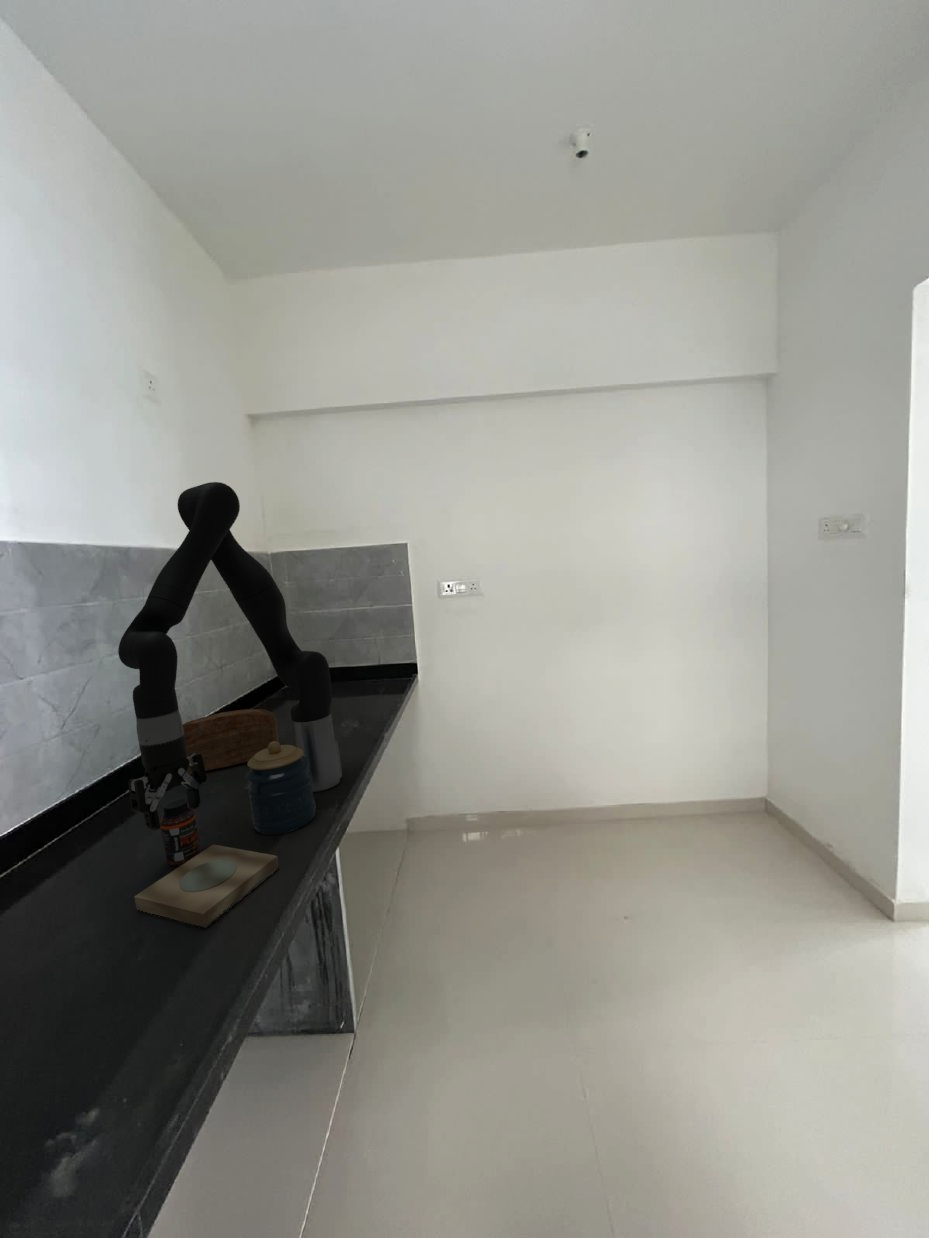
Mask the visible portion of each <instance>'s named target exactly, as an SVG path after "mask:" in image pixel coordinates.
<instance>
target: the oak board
mask: <svg viewBox="0 0 929 1238" xmlns="http://www.w3.org/2000/svg"><path fill="white" fill-rule="evenodd" d="M278 858H279V857H278V855H274V854H268V853H263V852H262V853H261V852H256V851H252V850H245V849H240V848H235V847H231V846H230V847H229V846H224V845H218V844H212V845H209V847H207V848H206V849H204V850H203V851H201V852H200V854H198V855H197V856H195V857H193V858H192V859H190V860H189V861H187V862H186V863H184V864H183V865H179V866H177V868H175V869H174V870H173V871H171V872H170V873H168V874H166V875H165V876H163V877H161V878H160V879H159V880H157V881H156V882H154V883H153V884H150V885H149V886H148V887H146V888H145V889H144V890H142V891H140V892H139V893H138V894H136V895H135V896H134V902H135V907H136V911H138V910H140V911H139V912H141V911H143V912H142V913H145V912H147V913H146V914H149V913H150V915H152V914H156V915H160V916H163V917H169V918H172V919H175V920H179V921H184V922H187V923H191V924H196V925H200V926H204V927H206V925H208V924H209V923H210V922H211V921H212V920H214V919H215V918H216V917H218V916H219V914H222V913H223V911H224V910H226V909H227V908H228V907H230V905H231V904H232V903H234V902H235V901H236V900H238V899H239V898H240V897H242V896H243V895H244V894H245V893H247V892H248V891H249V890H250V889H251V888H252V887H253V886H255V884H256V883H258V882H259V881H260V880H262V879H263V878H264V877H265V876H267V875H268V874H269V873H271V872H272V871H273V870H274V869H276V868H277V867H278V866H279V867H280V865H279V863H280V862H279V859H278ZM156 915H155V916H156ZM160 916H159V917H160ZM163 917H162V918H163Z"/></svg>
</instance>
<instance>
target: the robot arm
mask: <svg viewBox="0 0 929 1238" xmlns="http://www.w3.org/2000/svg"><path fill="white" fill-rule="evenodd" d="M240 506H241V505H240V499H239V497H238V495H237V492H236V491H235V490H234V489H233V488H232V487H231V486H229V485H227V484H226V483H224V482H219V481H218V482H217V481H213V482H206V483H202V484H199V485H196V486H193V487H190V488H187V489H185V490H183V491H182V492H181V493H180V494H179V497H178V499H177V510H178V514H179V517H180V519H181V520H182V523H183V524H184V525H185V526H186V528H187V529H188V532H187V534H186V536H185V538H184V539H183V541H182V543H181V544H180V545H179V546H178V548H177V549H176V551H175V552H174V553H173V554H172V556H171V557H170V558H169V559H168V561H167V562H166V564H165V565H164V566H163V567H162V569H161V570H160V572H159V573H158V575H157V577H156V578H155V580H154V583H153V585H152V587H151V589H150V591H149V593H148V596H147V598H146V601H145V603H144V605H143V607H142V608H141V610H139V612H138V613H137V615H136V616H135V617H134V619H133V620H132V621H131V623H130V624H129V626H128V627H127V628H126V629H125V631H124V633H123V635H122V636H121V639H120V642H119V644H118V649H117V651H118V652H117V653H118V658H119V660H120V662H121V663H122V664H123V665H124V666H125V667H127V668H130V669H133V670H139V671H138V672H139V684H138V685H136V686H135V687H134V688H133V691H132V702H133V709H134V715H135V719H136V720H135V721H136V722H135V723H136V734H137V740H138V746H139V752H140V757H141V763H142V766H143V768H144V776H142V777H139V778H136V779H135V778H130V779H129V780H128V782H127V784H128V791H129V802H130V810H131V812H135V813H141V814H143V816H144V822H145V826H146V828H148V829H149V830H152V831H157V830H159V829H161V825H160V818H159V811H158V809H157V807H158V804H159V802H160V801H161V799H163V798H164V794H165V792H169V791H170V790H172V789H173V788H175V787H179V786H181V785H182V786H184V787H185V788H186V798H187V799H186V800H187V805H188V808H190V809H192V810H193V809H194V810H196V809H198V808H199V807H200V804H201V796H200V795H201V794H200V791H199V790H200V789H199V788H200V786H201V785H202V784H203V783H205V782H207V781H208V777H207V772H206V771H205V767H204V763H203V758H202V755H201V754H196V753H190V754H189V756H188V757H186V756H187V747H186V741H185V735H184V729H183V724H184V723H183V719H182V716H181V714H180V709H179V703H178V702H179V701H178V697H177V692H176V682H177V673H178V672H177V671H178V651H177V647H176V644H175V643H174V641H173V639H172V637H170V635H168V633H169V631H170V630H171V628H173V627H175V626H177V625H178V624H180V623H182V621H183V619H184V618H185V616H186V613H187V611H188V610H189V607H190V604H191V603H192V599H193V597H194V595H195V592H196V590H197V588H198V585H199V583H200V581H201V580H202V577H203V575H204V573H205V571H206V569H207V567H208V566H209V564H210V561H211V562H212V564H213V565H214V567H215V569H216V570H217V572H218V573H219V575H220V577H221V578H222V580H223V582H224V583H225V585H226V586H227V588H228V589H229V591H230V593H231V595H232V597H233V599H234V600H235V602H236V604H237V605H238V607H239V609H240V610H241V612H242V614H243V615H244V617H245V618H246V619H247V621H248V622H249V624H250V626H251V628H252V629H253V631H254V633H255V635H256V636H257V637H258V639H259V641H260V642H261V644H262V646H263V647H264V649H265V652H266V654H267V656H268V658H269V660H270V663H271V664H272V665H271V666H272V667H273V669H274V671H275V673H276V675H277V677H278V679H279V680H280V682H281V683H282V684H283V686H286V687H287V688H290V689H294V690H298V703H297V704H295V705H293V706H292V707H291V709H290V719H291V724H292V731H293V735H294V736H293V737H294V742H295V747H297V748H300V749H302V750H303V752H304V753H303V757H306V758H307V759H308V760H309V765H308V767H307V769H308V772H309V773H310V774H311V783H312V790H313V793H314V792H315V793H316V792H322V791H325V790H328V789H331V788H333V787H335V786H336V785H338V784H339V783H340V782H341V778H343V772H342V770H343V769H342V764H341V758H340V756H341V755H340V749H339V742H338V740H337V739H335V731H334V726H333V719H332V718H333V717H332V709H331V705H332V701H333V700H332V699H333V693H332V680H331V673H330V672H331V671H330V667H329V666H330V665H329V663H328V660H327V659H326V657H325V655H324V654H323V653H321V652H318V651H314V650H313V651H312V650H311V651H310V650H302V649H301V648H300V647H299V646H298V644H297V643H296V641H295V639H294V638H293V636H292V635H291V632H290V630H289V628H288V623H287V608H286V602H285V599H284V596H283V594H282V592H281V591H280V589H279V587H278V585H277V582H276V581H275V579H274V577H273V576H272V575H271V573H270V572H269V570H268V569H266V568H265V567H264V565H263V564H261V562H259V561H258V559H256V558H254V557H253V555H251V554H250V553H248V552H247V550H245V549H244V548H243V547H242V545H240V543H239V542H238V541H237V540H236V538H235V536H234V535H233V533H232V532H231V528H232V527H233V525H234V524H235V521H236V520H237V518H238V517H239V513H240V510H241V509H240V508H241V507H240ZM188 766H190V767H191V771H192V774H191V775H190V774H188V773H187V769H188ZM147 784H148V786H147ZM155 790H156V792H155Z"/></svg>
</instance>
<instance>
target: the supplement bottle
mask: <svg viewBox="0 0 929 1238" xmlns="http://www.w3.org/2000/svg"><path fill="white" fill-rule="evenodd" d="M162 808H163V813H164V815H163V816H162V817H161V818H160V819H159V822H160V831H161V836H162V841H163V847H164V854H165V859H166V862H167V864H168V865H170V866H181V865H183V864H184V863H186V862H187V861H189V860H190V859H192V858H193V857H195V856H197V855H198V854H200V853H201V852H202V850H201V843H200V841H201V840H200V839H199V838H200V837H199V832H198V826H197V821H196V815H195V811H194V810H193V808H190V807H189V805H188V800H187V799H185V798H177V799H174V800H171V801H168V802H167V803H165V804H163V807H162Z"/></svg>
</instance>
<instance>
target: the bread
mask: <svg viewBox="0 0 929 1238" xmlns="http://www.w3.org/2000/svg"><path fill="white" fill-rule="evenodd" d="M183 729H184V735H185V741H186V747H187V756H186V757H188V756H189V754H190V753H196V754H201V755H202V758H203V763H204V767H205V772H206V771H212V770H215V769H222V768H225V767H226V768H228V767H231V766H235V765H238V764H242V763H243V764H244V763H248V761H249V760H250V759H251V758H252V757H254V755H255V754H256V753H258V752H259V751H261V750H264V749H266V748H268V745H269V743H270V742H273V741H277V742H279V739H278V720H277V717H276V716H275V715H274V713H272V712H271V711H270V710H267V709H264V708H262V709H261V708H247V709H237V710H230V711H229V710H228V711H222V712H218V713H214V714H212V715H208V716H204V717H199V718H196V719H193V720H190V721H186V722H185V723H183ZM187 773H188V774H190V775H191V776H192V771H191V767H190V766H188V769H187Z"/></svg>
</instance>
